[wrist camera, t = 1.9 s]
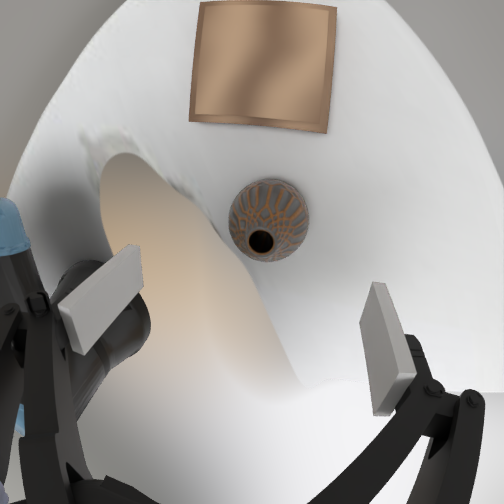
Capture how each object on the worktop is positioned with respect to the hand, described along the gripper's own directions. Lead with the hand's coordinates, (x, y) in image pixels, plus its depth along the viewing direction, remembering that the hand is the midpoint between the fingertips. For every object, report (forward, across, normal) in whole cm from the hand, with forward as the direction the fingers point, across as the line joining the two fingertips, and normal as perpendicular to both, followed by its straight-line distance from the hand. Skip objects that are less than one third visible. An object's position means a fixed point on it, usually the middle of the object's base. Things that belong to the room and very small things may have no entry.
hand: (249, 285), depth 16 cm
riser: (+15, -2, +14) cm, 20 cm away
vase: (+15, 0, 0) cm, 15 cm away
